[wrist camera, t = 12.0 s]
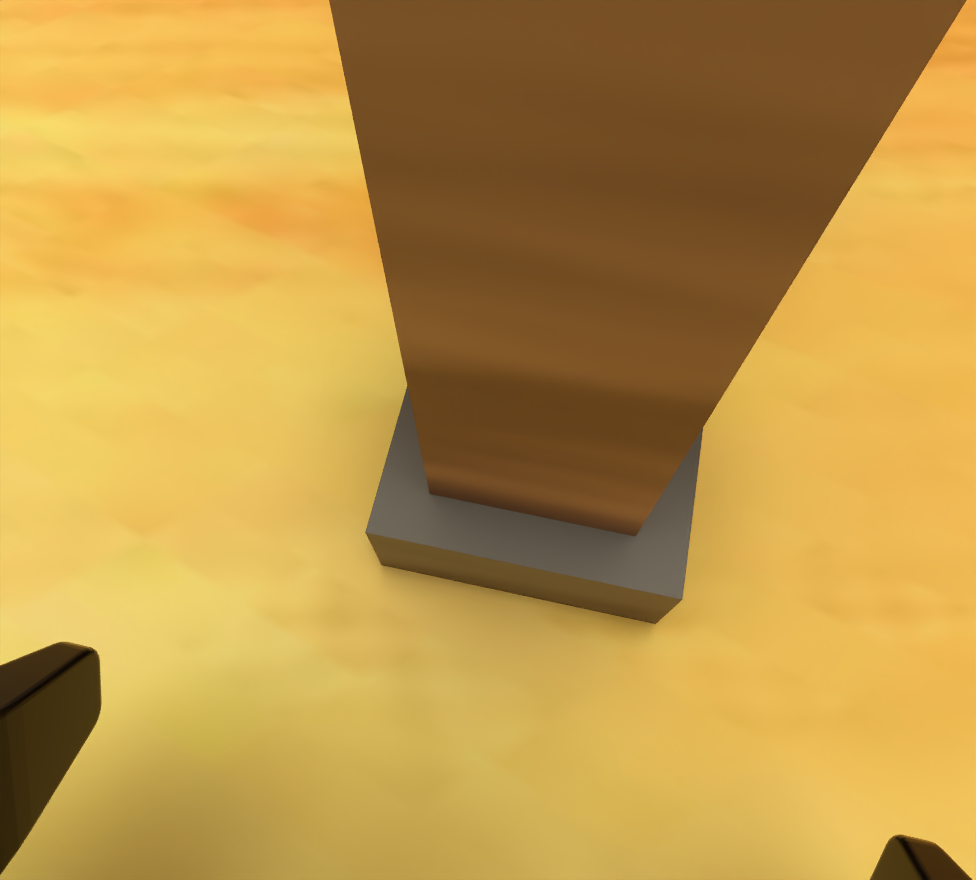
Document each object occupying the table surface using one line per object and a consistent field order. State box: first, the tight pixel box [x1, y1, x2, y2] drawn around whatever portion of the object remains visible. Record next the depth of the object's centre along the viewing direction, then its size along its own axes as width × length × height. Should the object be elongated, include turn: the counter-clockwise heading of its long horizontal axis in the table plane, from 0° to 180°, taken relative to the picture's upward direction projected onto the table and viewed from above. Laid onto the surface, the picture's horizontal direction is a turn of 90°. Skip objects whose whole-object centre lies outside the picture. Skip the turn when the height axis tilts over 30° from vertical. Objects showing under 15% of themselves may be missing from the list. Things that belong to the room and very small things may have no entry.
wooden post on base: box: [329, 0, 966, 624], centre depth 12 cm, size 6×6×14 cm
